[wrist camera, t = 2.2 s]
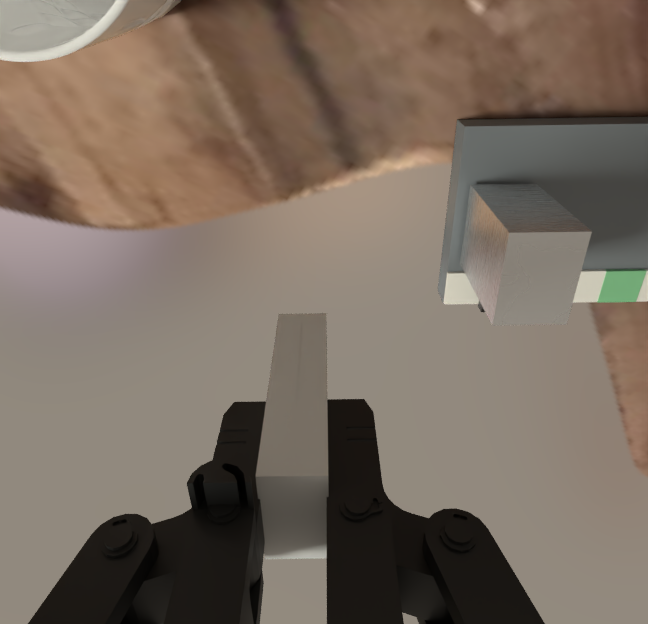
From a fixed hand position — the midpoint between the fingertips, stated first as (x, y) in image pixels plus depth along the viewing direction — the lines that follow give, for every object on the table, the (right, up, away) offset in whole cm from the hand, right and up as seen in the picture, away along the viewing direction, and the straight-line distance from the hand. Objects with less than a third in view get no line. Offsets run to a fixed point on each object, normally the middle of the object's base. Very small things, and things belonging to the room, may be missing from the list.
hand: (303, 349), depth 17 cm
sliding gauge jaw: (+9, +4, +9) cm, 13 cm away
